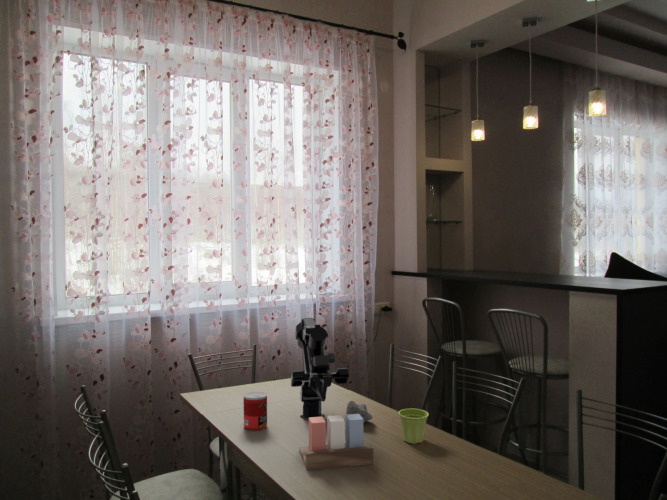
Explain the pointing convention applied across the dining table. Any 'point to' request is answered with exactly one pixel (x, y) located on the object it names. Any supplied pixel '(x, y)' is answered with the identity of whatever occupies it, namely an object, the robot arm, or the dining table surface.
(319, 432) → the red rectangular block
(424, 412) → the plant pot
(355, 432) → the light blue tall block
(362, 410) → the fossil
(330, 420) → the white tall block
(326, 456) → the wooden block stand
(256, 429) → the canned food
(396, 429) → the dining table surface
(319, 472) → the dining table surface
